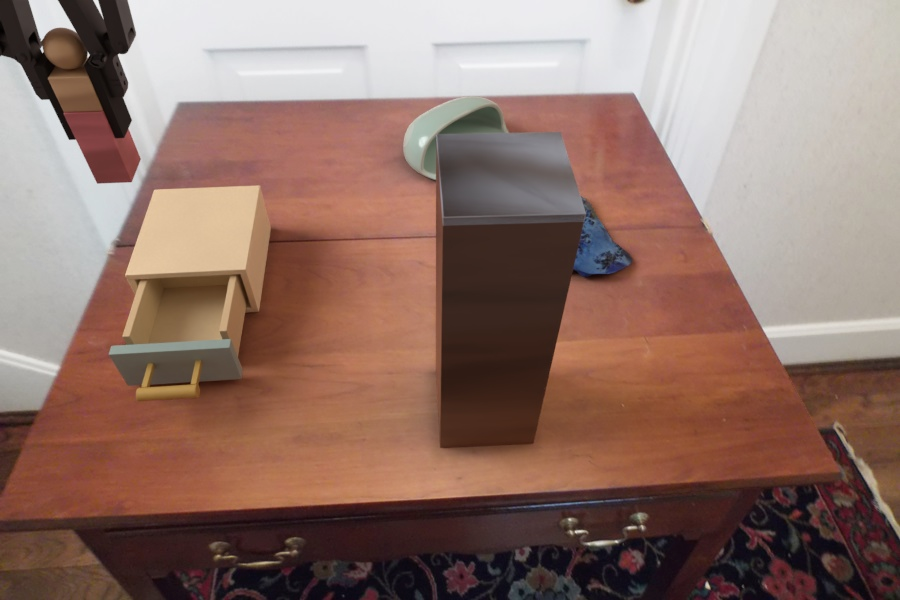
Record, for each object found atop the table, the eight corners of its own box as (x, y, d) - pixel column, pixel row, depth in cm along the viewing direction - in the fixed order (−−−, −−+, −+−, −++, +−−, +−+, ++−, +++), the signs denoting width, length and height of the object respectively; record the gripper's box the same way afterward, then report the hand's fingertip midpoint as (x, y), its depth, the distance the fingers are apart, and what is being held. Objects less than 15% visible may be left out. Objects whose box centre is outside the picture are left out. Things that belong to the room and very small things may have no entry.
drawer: (236, 413, 70) (223, 382, 65) (117, 421, 69) (96, 390, 64) (256, 285, 82) (246, 252, 78) (155, 290, 81) (140, 257, 77)
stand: (533, 443, 69) (586, 213, 45) (440, 448, 68) (442, 217, 44) (521, 367, 75) (560, 131, 52) (435, 370, 75) (435, 134, 51)
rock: (575, 192, 97) (577, 182, 95) (644, 266, 87) (648, 256, 85) (489, 220, 93) (490, 210, 91) (551, 302, 83) (553, 292, 81)
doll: (132, 182, 57) (70, 40, 47) (96, 183, 57) (28, 41, 47) (141, 159, 59) (84, 18, 50) (107, 160, 59) (44, 19, 50)
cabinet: (259, 312, 80) (245, 269, 75) (146, 318, 79) (124, 275, 74) (271, 228, 91) (260, 185, 85) (171, 232, 90) (154, 189, 84)
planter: (465, 68, 107) (540, 108, 99) (464, 108, 112) (535, 148, 104) (377, 111, 98) (452, 158, 90) (380, 151, 103) (451, 199, 95)
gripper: (106, -232, 41) (205, 103, 58) (-166, -234, 39) (18, 108, 57) (70, -206, 36) (190, 152, 53) (-243, -207, 34) (-16, 159, 52)
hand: (100, 129), depth 55 cm, fingers closed on doll, 3 cm apart
